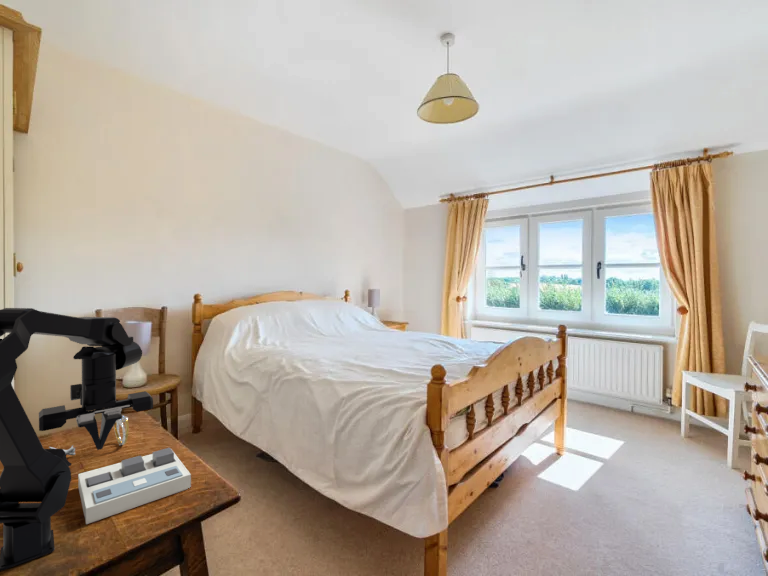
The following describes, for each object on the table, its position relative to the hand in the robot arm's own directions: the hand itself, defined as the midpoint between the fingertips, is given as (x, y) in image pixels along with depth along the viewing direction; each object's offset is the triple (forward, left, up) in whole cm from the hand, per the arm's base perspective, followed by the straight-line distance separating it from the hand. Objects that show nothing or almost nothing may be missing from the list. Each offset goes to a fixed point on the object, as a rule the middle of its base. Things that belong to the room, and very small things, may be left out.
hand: (99, 448), depth 78 cm
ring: (+23, -7, -10) cm, 26 cm away
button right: (0, -12, -7) cm, 14 cm away
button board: (-3, -6, -10) cm, 11 cm away
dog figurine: (+23, +5, -10) cm, 26 cm away
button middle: (0, -6, -7) cm, 9 cm away
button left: (0, 0, -9) cm, 9 cm away
